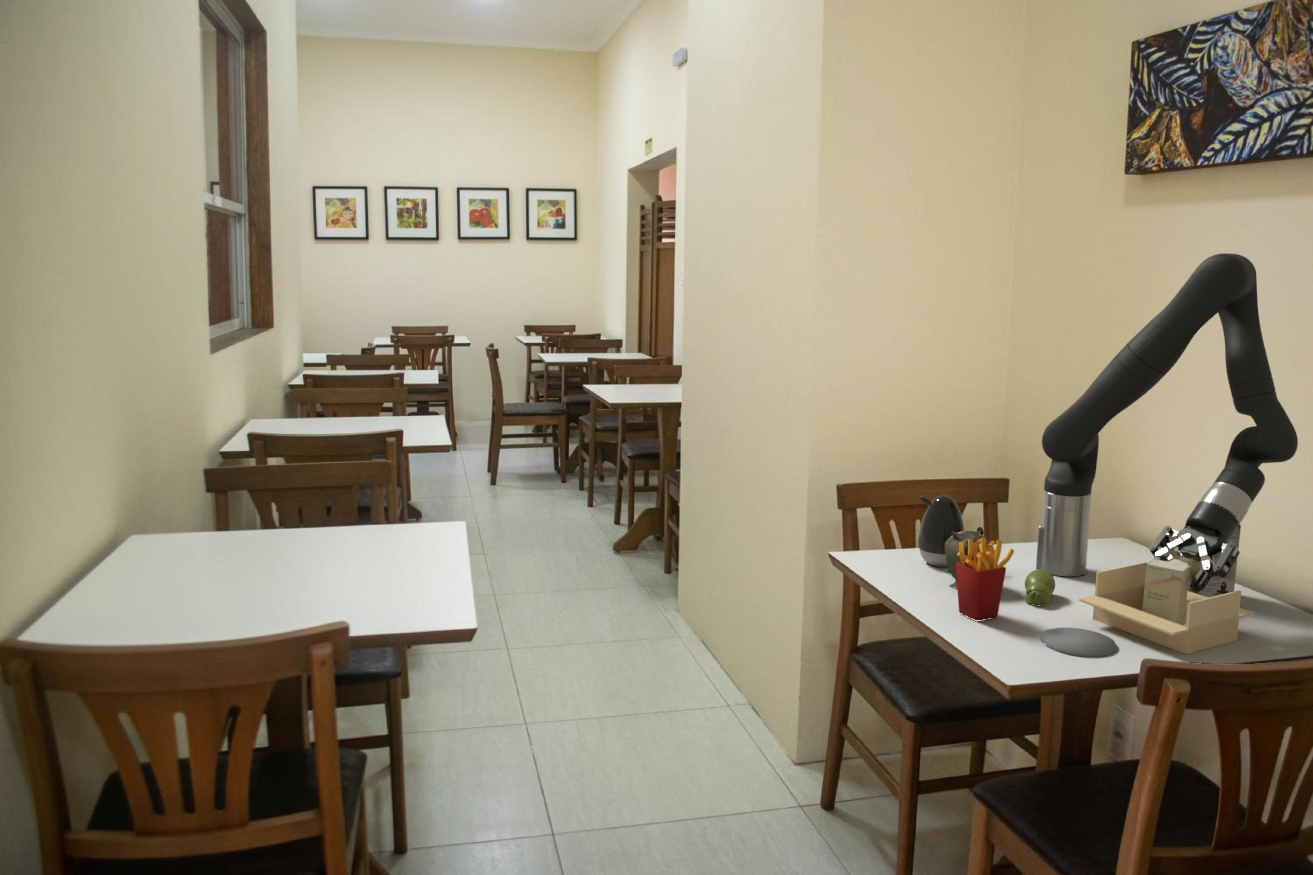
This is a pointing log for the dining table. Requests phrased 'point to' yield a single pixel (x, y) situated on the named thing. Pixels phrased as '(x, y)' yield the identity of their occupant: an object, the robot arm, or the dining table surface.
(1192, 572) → the coffee box
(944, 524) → the dark grey rounded figure
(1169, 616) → the skincare box
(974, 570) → the french fries
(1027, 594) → the pear
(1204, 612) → the carton
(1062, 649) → the coaster
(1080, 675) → the dining table surface
